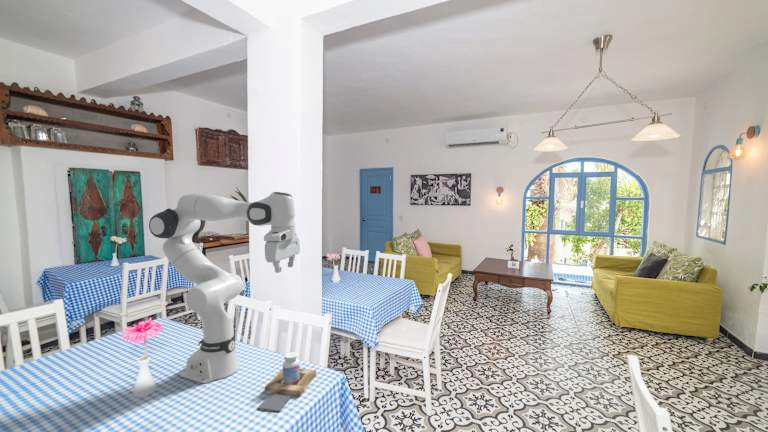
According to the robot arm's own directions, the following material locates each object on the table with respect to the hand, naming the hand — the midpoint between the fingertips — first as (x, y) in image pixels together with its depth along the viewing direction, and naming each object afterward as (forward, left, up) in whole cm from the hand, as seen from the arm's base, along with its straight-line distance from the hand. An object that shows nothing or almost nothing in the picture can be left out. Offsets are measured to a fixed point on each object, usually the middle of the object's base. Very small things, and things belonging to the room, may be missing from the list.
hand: (284, 269), depth 121 cm
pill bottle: (+3, -3, -44) cm, 44 cm away
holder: (+3, -3, -44) cm, 44 cm away
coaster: (+3, -15, -44) cm, 46 cm away
